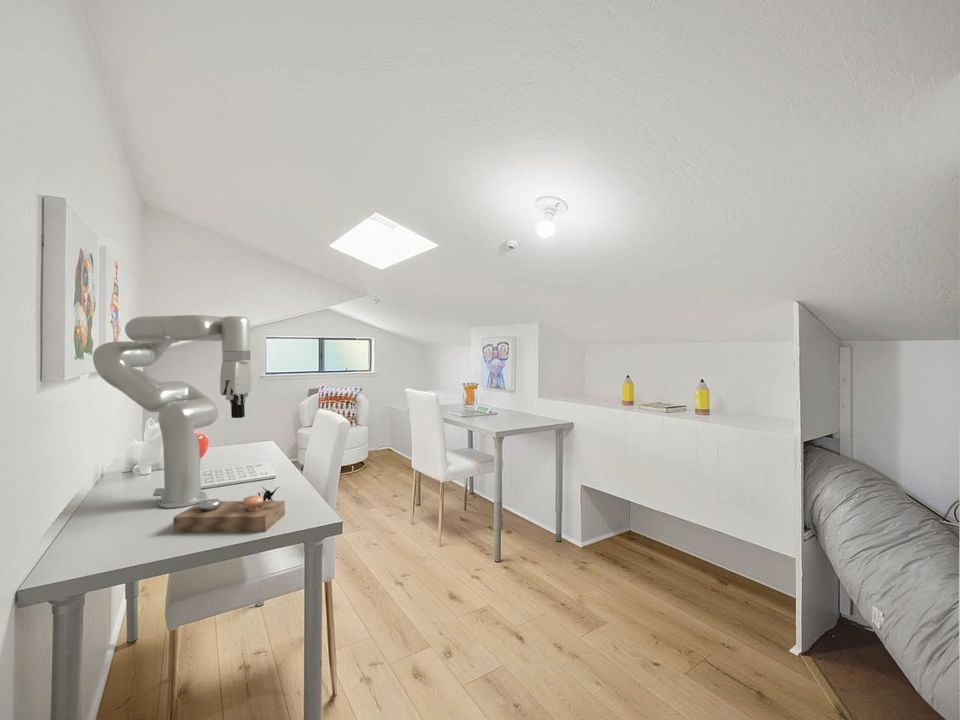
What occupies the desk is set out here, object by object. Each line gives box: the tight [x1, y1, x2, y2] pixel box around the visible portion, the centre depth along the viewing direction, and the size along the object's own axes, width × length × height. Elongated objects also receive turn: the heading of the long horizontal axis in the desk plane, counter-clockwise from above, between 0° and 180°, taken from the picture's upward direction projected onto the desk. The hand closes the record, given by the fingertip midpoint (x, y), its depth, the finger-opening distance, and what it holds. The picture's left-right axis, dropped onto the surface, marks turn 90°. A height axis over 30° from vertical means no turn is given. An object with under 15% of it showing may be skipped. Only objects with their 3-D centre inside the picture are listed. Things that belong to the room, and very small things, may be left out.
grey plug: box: [199, 498, 221, 511], centre depth 125 cm, size 5×5×5 cm
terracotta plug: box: [242, 494, 264, 511], centre depth 125 cm, size 5×5×5 cm
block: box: [172, 500, 286, 533], centre depth 125 cm, size 24×12×4 cm, turn 90°
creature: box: [257, 486, 280, 501], centre depth 140 cm, size 8×5×8 cm
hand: (238, 417), depth 139 cm, fingers closed
